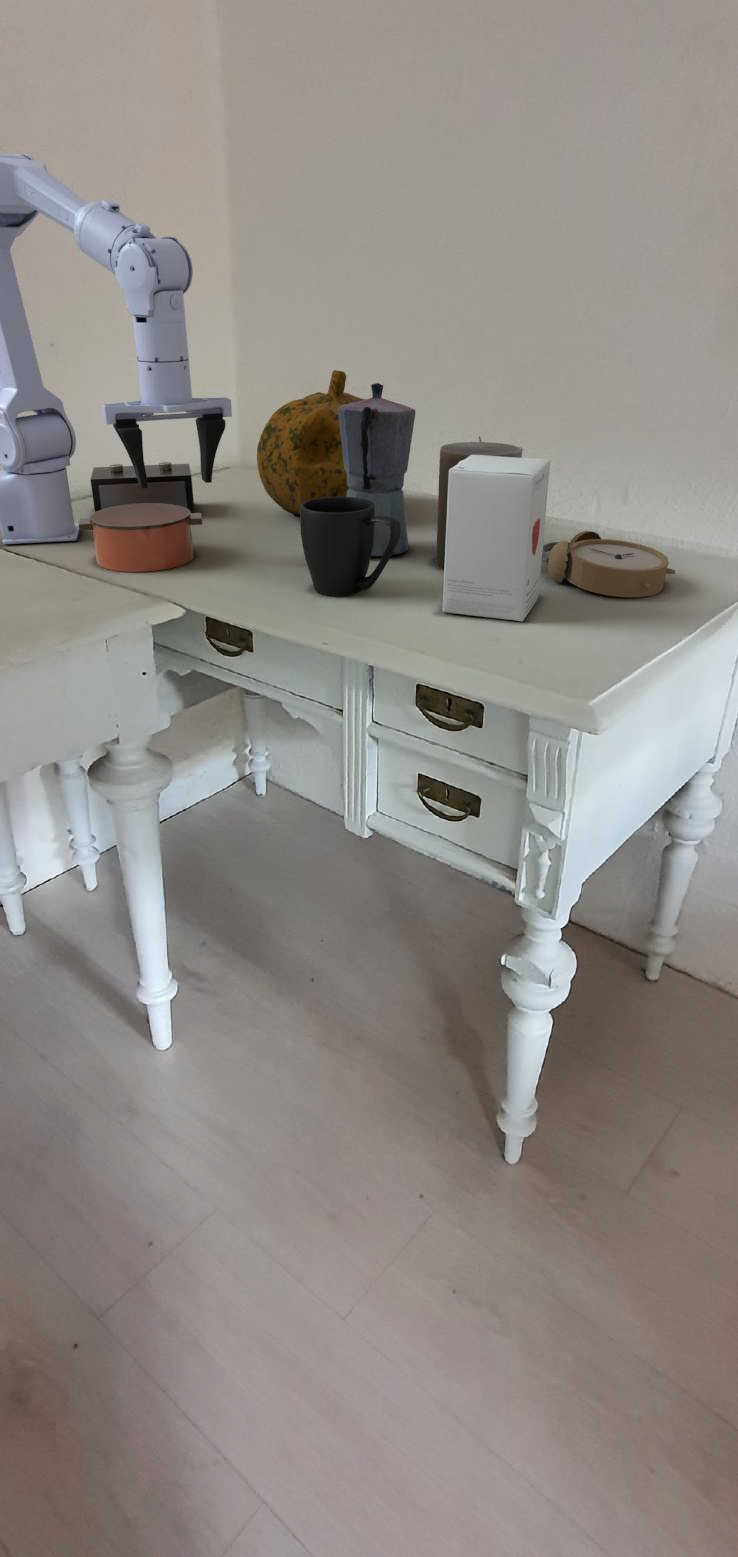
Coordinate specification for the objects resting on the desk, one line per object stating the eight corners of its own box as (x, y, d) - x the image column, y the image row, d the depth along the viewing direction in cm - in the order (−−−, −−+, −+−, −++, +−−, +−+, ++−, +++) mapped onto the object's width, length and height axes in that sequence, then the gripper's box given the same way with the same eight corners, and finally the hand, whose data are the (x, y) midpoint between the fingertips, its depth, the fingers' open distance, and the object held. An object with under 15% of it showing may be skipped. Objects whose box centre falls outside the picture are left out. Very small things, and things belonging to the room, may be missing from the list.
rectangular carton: (524, 623, 100) (536, 474, 93) (440, 614, 102) (445, 468, 95) (541, 597, 107) (553, 457, 100) (462, 589, 110) (468, 452, 103)
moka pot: (415, 536, 131) (419, 377, 121) (408, 569, 117) (411, 393, 107) (345, 535, 131) (343, 376, 122) (330, 567, 118) (326, 392, 108)
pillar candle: (448, 577, 114) (452, 444, 107) (427, 555, 123) (430, 430, 115) (526, 572, 116) (536, 441, 109) (501, 550, 124) (508, 428, 117)
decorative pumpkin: (246, 496, 149) (250, 355, 139) (377, 499, 154) (389, 364, 144) (267, 533, 132) (273, 376, 122) (413, 536, 138) (430, 386, 128)
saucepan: (82, 575, 115) (75, 529, 113) (87, 548, 126) (81, 506, 123) (207, 568, 118) (203, 522, 115) (202, 542, 128) (198, 500, 126)
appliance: (96, 522, 138) (89, 473, 135) (99, 508, 146) (92, 461, 143) (195, 517, 141) (190, 469, 137) (192, 503, 148) (188, 457, 145)
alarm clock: (647, 579, 103) (526, 533, 110) (633, 621, 106) (517, 574, 112) (686, 556, 111) (571, 514, 118) (672, 595, 114) (561, 552, 120)
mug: (373, 611, 103) (373, 521, 99) (287, 591, 110) (284, 506, 105) (416, 592, 109) (418, 506, 105) (332, 574, 115) (330, 492, 111)
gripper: (103, 366, 103) (119, 495, 109) (235, 360, 108) (243, 485, 114) (93, 360, 109) (109, 484, 115) (219, 355, 114) (227, 474, 120)
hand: (175, 483), depth 115 cm, fingers open, 7 cm apart
